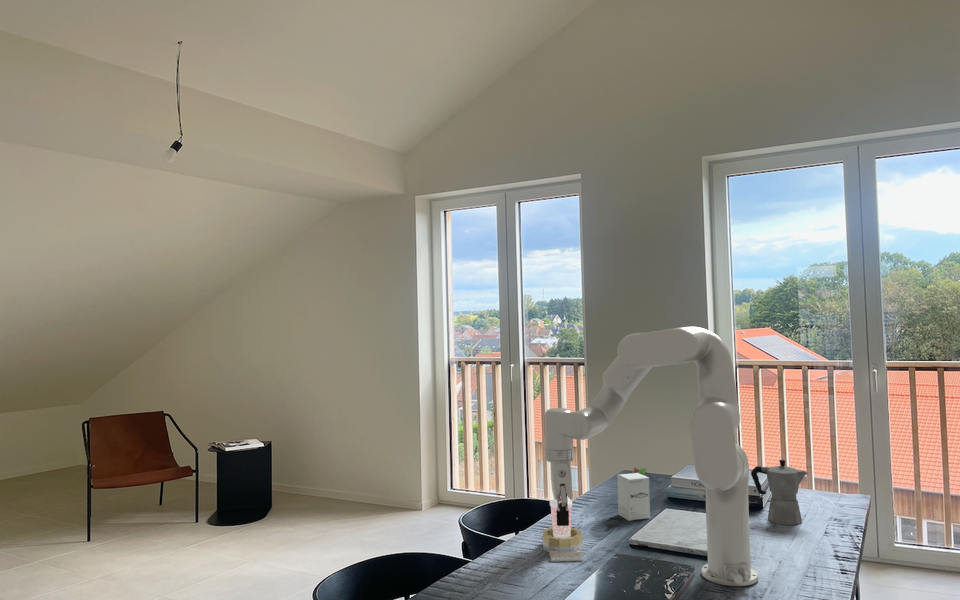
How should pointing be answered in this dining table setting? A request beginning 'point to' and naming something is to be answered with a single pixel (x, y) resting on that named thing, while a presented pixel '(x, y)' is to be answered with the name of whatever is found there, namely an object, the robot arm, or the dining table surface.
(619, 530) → the dining table surface
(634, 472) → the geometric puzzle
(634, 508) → the supplement box
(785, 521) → the coffeepot
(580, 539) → the yellow faceted ring
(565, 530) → the beverage cup
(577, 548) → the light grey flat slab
